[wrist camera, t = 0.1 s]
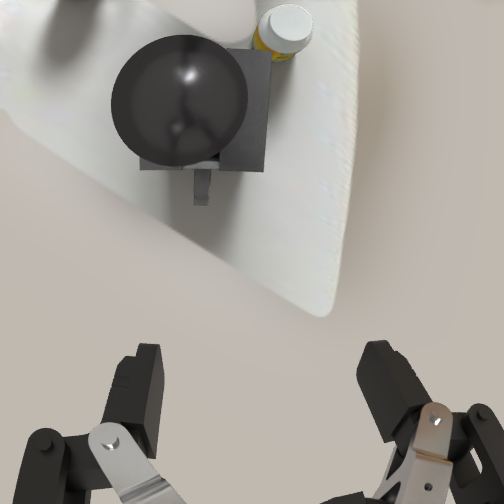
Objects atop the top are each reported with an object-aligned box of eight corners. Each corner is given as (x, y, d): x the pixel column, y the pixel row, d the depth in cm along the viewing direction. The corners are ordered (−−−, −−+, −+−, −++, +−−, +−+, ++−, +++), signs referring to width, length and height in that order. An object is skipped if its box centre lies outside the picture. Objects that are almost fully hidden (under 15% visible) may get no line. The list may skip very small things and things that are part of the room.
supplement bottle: (277, 15, 29) (296, -12, 21) (306, 47, 31) (333, 29, 23) (242, 38, 30) (249, 15, 22) (271, 71, 32) (288, 58, 24)
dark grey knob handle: (165, 69, 22) (76, 5, 6) (249, 70, 23) (306, 0, 7) (162, 148, 25) (72, 215, 9) (244, 150, 26) (288, 218, 10)
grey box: (168, 69, 31) (141, 47, 19) (255, 71, 32) (275, 49, 20) (165, 176, 36) (138, 210, 24) (247, 178, 38) (262, 212, 25)
